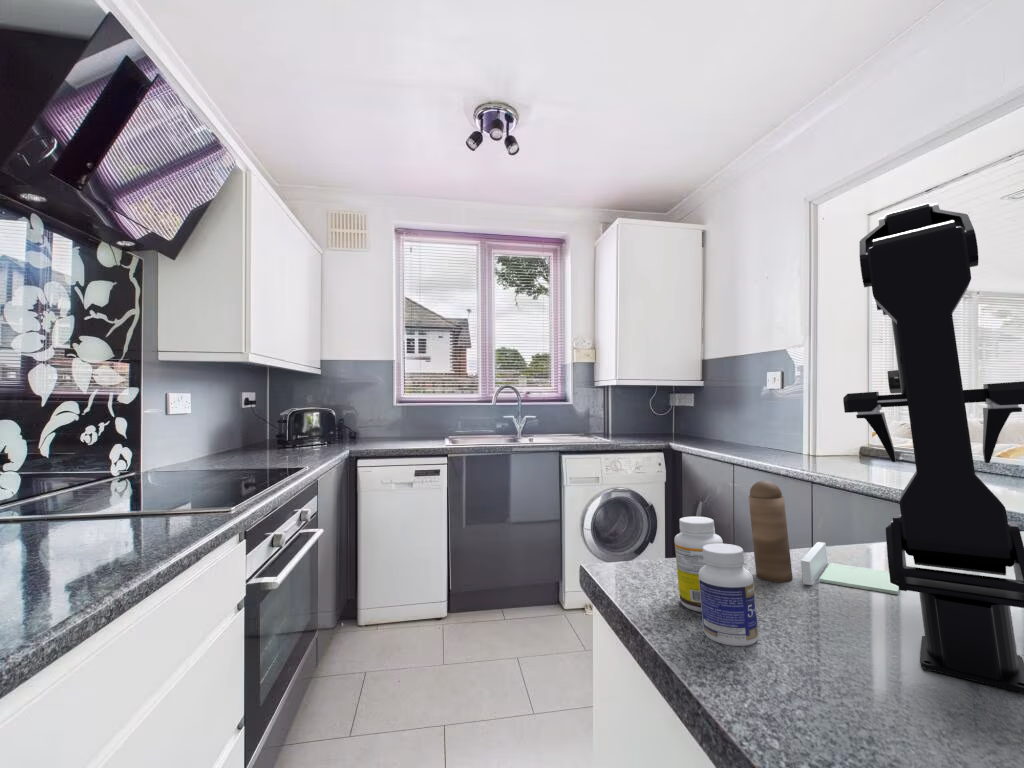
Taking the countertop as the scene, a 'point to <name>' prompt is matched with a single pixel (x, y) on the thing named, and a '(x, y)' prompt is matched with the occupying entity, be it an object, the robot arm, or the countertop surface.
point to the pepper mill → (770, 532)
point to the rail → (814, 563)
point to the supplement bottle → (692, 557)
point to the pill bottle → (727, 596)
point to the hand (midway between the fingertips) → (938, 462)
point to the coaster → (859, 578)
